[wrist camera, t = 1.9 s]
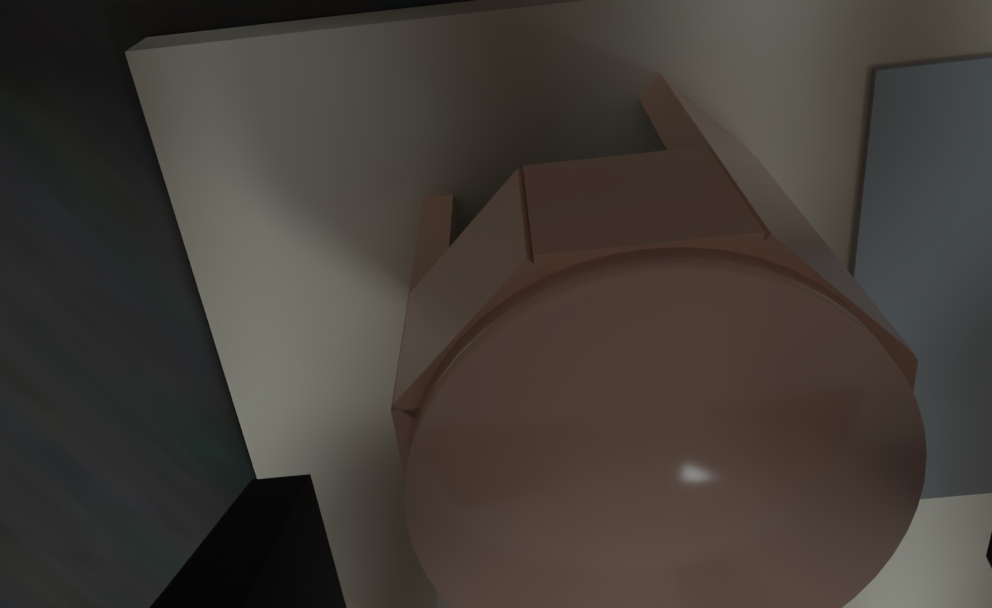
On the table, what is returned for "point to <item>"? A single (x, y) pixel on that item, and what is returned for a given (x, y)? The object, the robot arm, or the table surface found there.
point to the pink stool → (650, 390)
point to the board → (555, 138)
